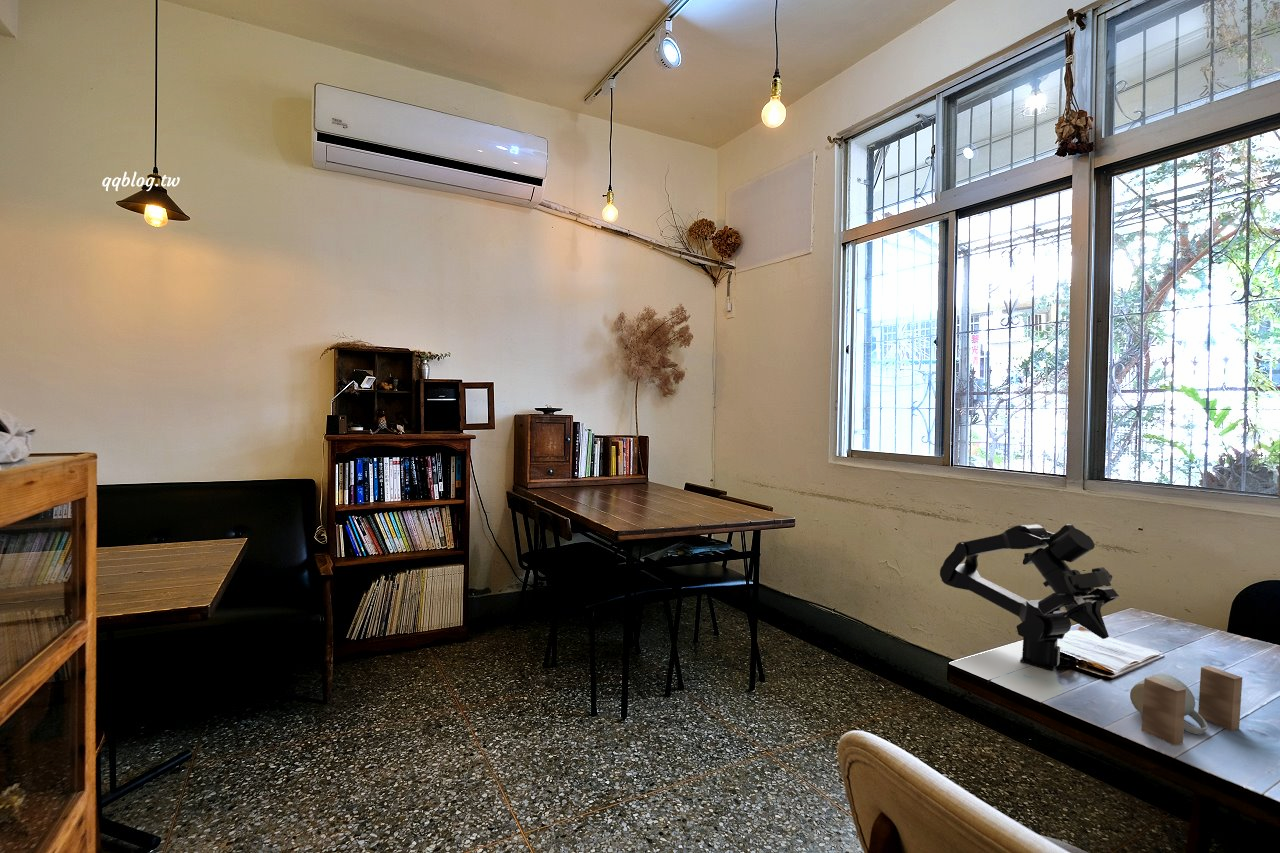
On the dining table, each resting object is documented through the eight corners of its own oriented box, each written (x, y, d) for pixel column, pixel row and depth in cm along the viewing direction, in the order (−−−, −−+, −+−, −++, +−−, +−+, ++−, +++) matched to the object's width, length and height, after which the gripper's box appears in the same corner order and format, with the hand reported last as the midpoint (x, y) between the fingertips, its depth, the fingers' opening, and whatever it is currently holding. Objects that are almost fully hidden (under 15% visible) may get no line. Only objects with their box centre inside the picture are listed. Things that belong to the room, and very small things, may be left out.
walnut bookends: (1141, 730, 106) (1144, 678, 105) (1205, 715, 112) (1208, 665, 112) (1173, 745, 101) (1177, 691, 101) (1239, 728, 107) (1242, 677, 107)
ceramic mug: (1125, 711, 112) (1128, 674, 112) (1146, 703, 116) (1149, 667, 116) (1195, 741, 103) (1198, 700, 102) (1215, 731, 106) (1219, 692, 106)
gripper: (1054, 557, 122) (1108, 626, 112) (1111, 552, 128) (1167, 617, 118) (1017, 581, 130) (1064, 648, 120) (1073, 576, 136) (1122, 639, 126)
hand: (1106, 638), depth 120 cm, fingers closed
